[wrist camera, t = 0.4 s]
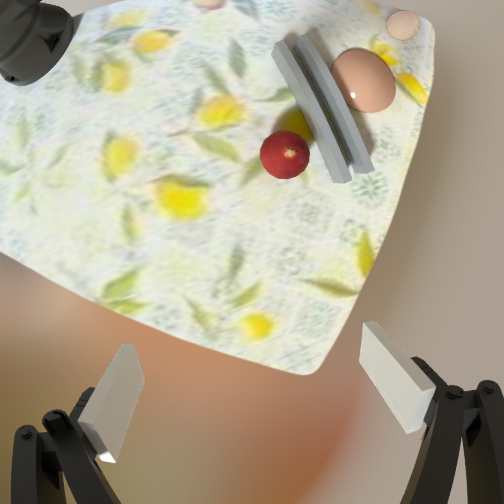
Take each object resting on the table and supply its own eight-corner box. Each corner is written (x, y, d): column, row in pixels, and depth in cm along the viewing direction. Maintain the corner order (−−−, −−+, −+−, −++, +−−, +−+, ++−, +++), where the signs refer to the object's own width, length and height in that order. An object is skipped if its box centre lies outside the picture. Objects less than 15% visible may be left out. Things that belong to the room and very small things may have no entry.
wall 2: (293, 47, 33) (299, 35, 29) (301, 45, 33) (307, 33, 29) (354, 173, 38) (367, 173, 34) (361, 170, 38) (374, 170, 34)
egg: (374, 25, 32) (396, 5, 25) (392, 19, 32) (414, 1, 25) (391, 48, 33) (415, 31, 26) (409, 41, 33) (433, 26, 26)
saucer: (319, 60, 34) (321, 57, 33) (373, 47, 33) (376, 45, 32) (350, 121, 36) (353, 120, 35) (402, 104, 36) (405, 102, 35)
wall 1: (271, 54, 33) (275, 42, 29) (279, 52, 33) (283, 40, 29) (333, 182, 38) (344, 183, 34) (341, 179, 38) (352, 179, 34)
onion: (292, 130, 36) (308, 118, 28) (307, 170, 38) (326, 168, 30) (251, 144, 36) (256, 134, 28) (266, 185, 38) (275, 186, 30)
